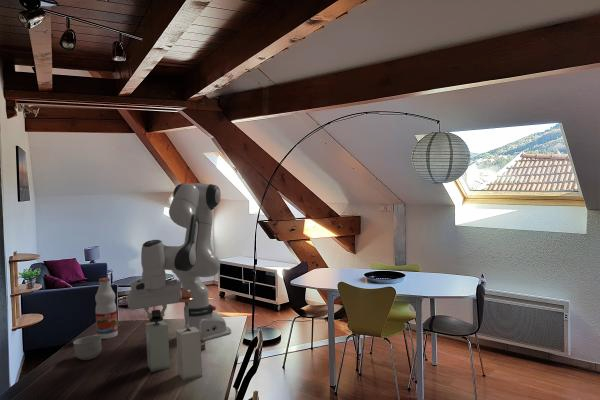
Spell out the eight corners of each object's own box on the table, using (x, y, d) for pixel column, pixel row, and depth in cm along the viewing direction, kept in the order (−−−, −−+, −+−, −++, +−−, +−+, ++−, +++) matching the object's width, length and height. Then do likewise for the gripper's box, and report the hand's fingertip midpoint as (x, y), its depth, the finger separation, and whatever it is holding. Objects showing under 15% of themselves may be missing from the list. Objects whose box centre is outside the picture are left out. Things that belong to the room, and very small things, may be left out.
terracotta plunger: (193, 336, 185) (190, 288, 185) (197, 339, 181) (194, 290, 180) (179, 338, 183) (177, 290, 182) (183, 342, 178) (180, 292, 178)
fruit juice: (117, 332, 242) (114, 275, 241) (118, 337, 234) (115, 279, 233) (97, 335, 239) (93, 278, 238) (96, 340, 230) (93, 281, 229)
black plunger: (163, 353, 196) (161, 308, 195) (166, 357, 191) (164, 311, 191) (150, 356, 194) (147, 310, 193) (152, 360, 189) (150, 313, 188)
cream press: (196, 370, 187) (194, 326, 186) (202, 376, 181) (199, 331, 180) (178, 374, 184) (176, 329, 183) (183, 381, 178) (181, 334, 177)
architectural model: (206, 351, 210) (205, 334, 209) (190, 355, 206) (189, 337, 206) (204, 349, 213) (203, 332, 212) (188, 352, 209) (187, 335, 209)
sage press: (165, 362, 197) (163, 320, 197) (169, 367, 191) (167, 324, 191) (147, 366, 194) (145, 323, 193) (151, 371, 188) (149, 327, 187)
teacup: (91, 362, 201) (90, 343, 200) (68, 362, 203) (67, 342, 203) (111, 351, 214) (110, 332, 214) (89, 350, 216) (88, 332, 216)
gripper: (178, 277, 199) (180, 311, 200) (125, 284, 189) (127, 319, 190) (182, 279, 194) (184, 314, 194) (128, 287, 184) (130, 323, 184)
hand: (156, 317), depth 192 cm, fingers closed on black plunger, 3 cm apart
